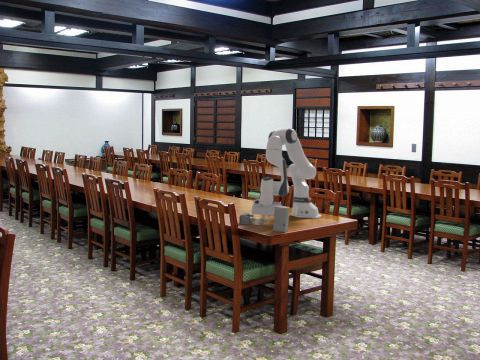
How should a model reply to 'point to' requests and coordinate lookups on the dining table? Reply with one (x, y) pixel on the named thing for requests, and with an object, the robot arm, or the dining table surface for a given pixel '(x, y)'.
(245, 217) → the end cap
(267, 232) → the dining table surface
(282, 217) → the skincare box
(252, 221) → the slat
